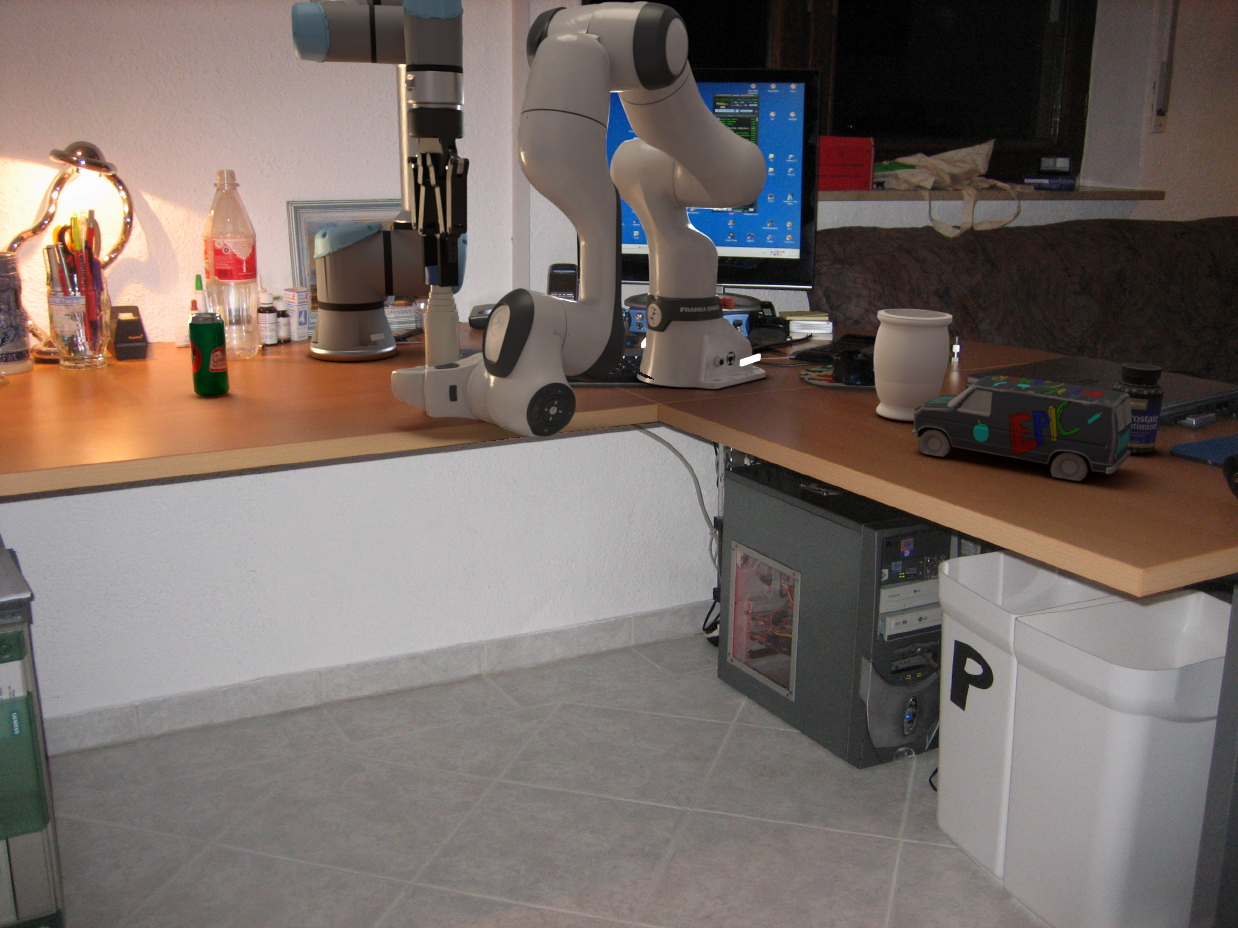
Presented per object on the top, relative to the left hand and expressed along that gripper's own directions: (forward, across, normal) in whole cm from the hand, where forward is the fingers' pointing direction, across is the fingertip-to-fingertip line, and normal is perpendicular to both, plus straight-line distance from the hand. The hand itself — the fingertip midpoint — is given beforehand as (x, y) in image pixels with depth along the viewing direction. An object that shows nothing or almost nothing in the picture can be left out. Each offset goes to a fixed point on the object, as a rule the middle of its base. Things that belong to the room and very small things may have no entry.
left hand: (440, 284), depth 149 cm
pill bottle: (+18, +67, +65) cm, 95 cm away
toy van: (+18, +62, +48) cm, 80 cm away
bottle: (+18, 0, 0) cm, 18 cm away
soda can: (+18, -28, -24) cm, 41 cm away
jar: (+18, +38, +55) cm, 70 cm away
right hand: (+12, -1, 0) cm, 12 cm away
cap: (-2, 0, 0) cm, 2 cm away
